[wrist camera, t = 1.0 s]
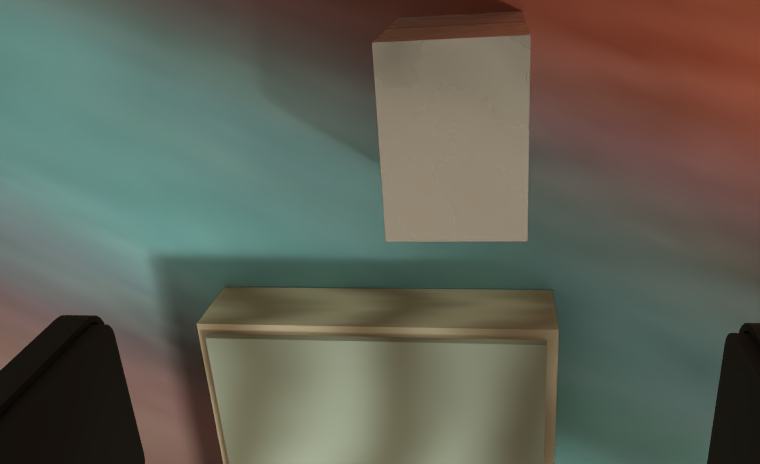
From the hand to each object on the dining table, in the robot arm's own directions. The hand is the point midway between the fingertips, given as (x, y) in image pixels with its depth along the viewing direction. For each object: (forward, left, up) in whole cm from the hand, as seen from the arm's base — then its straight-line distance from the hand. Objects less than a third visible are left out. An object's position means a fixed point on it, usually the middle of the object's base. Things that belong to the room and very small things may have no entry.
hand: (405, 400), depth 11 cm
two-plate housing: (0, 0, -21) cm, 21 cm away
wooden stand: (+4, +18, -21) cm, 28 cm away
